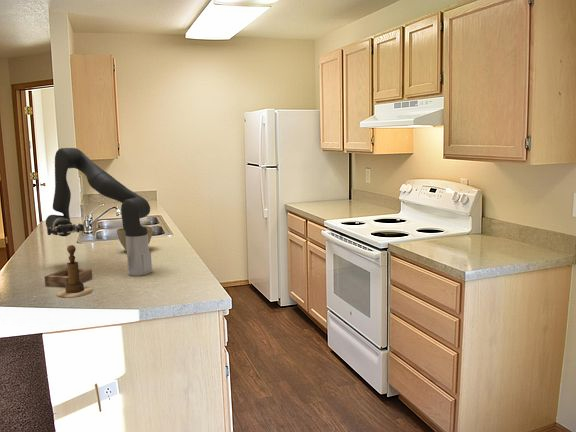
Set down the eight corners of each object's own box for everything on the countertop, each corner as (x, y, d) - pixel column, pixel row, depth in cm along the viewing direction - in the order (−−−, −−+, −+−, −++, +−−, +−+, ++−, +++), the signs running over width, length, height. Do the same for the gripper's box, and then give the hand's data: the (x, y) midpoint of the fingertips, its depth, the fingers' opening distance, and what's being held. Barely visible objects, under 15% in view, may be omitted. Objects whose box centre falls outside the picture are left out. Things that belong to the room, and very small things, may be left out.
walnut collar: (92, 278, 220) (91, 269, 219) (71, 287, 207) (70, 277, 206) (67, 277, 223) (66, 268, 223) (45, 286, 210) (44, 276, 210)
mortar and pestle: (64, 294, 196) (60, 247, 193) (67, 289, 202) (63, 244, 200) (83, 292, 198) (79, 246, 195) (85, 287, 204) (81, 243, 201)
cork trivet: (99, 288, 204) (99, 287, 204) (78, 298, 192) (78, 297, 192) (72, 286, 208) (71, 285, 208) (49, 296, 196) (49, 295, 195)
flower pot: (158, 247, 281) (157, 225, 279) (146, 255, 263) (144, 231, 261) (126, 247, 282) (125, 225, 281) (112, 255, 265) (110, 231, 263)
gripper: (43, 220, 223) (47, 224, 209) (78, 216, 230) (84, 220, 216) (45, 237, 224) (49, 242, 210) (80, 233, 231) (86, 237, 217)
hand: (67, 231), depth 213 cm, fingers open, 8 cm apart
